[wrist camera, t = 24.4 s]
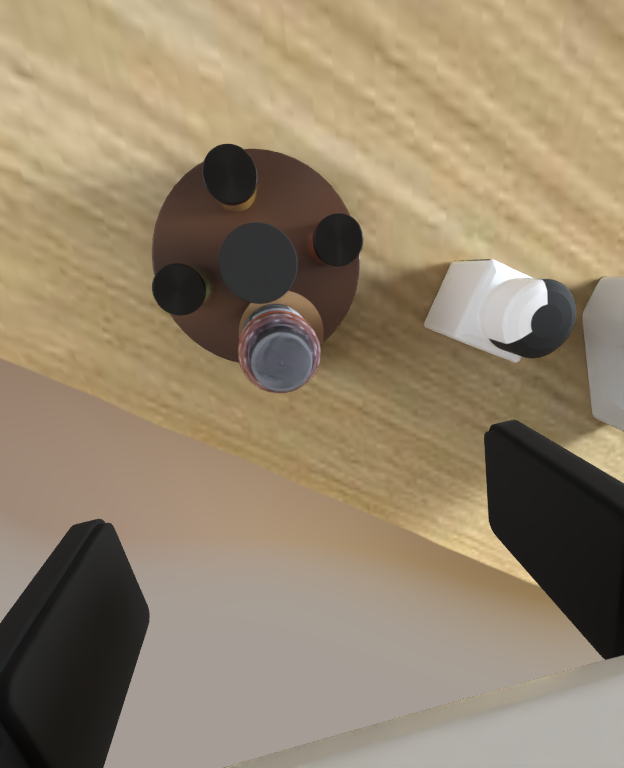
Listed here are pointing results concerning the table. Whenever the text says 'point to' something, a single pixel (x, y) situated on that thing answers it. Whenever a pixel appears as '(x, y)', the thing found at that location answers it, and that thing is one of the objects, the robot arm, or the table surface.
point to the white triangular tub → (606, 350)
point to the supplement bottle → (278, 349)
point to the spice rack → (253, 247)
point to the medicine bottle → (502, 310)
